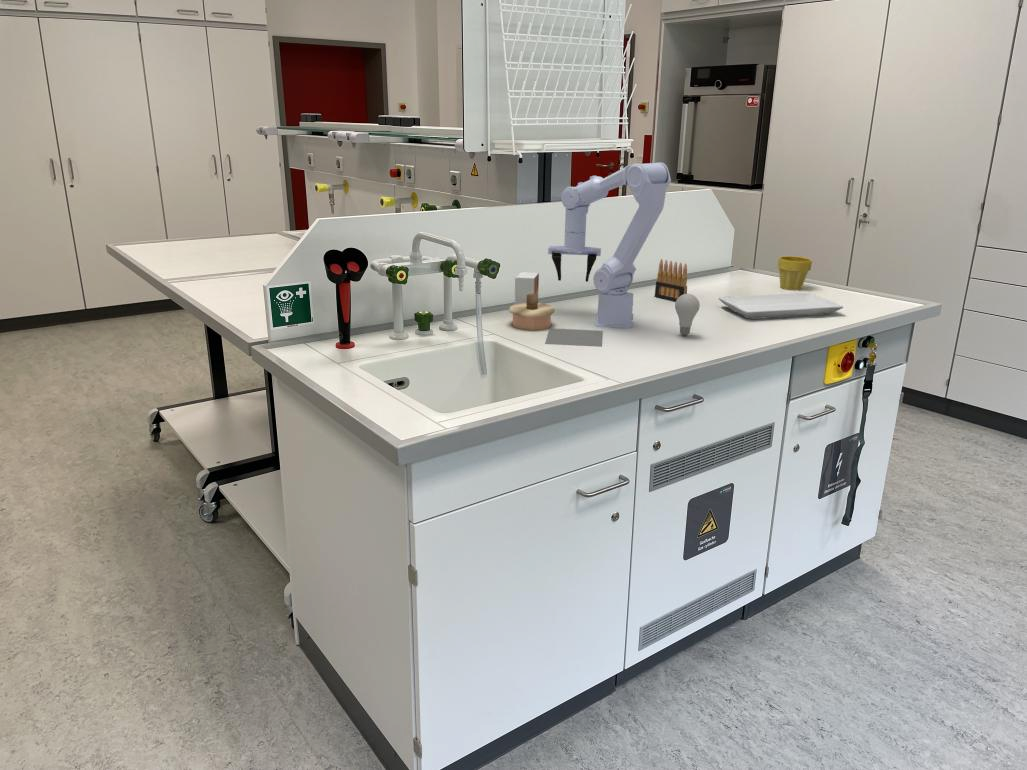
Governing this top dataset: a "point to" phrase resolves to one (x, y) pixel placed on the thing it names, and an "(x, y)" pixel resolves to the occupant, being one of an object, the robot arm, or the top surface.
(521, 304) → the lid
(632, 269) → the robot arm
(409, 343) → the top surface
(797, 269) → the plant pot
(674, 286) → the ammunition clip
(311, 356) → the top surface
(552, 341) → the mat
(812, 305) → the tray
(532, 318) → the bowl
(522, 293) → the small box
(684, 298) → the lightbulb
